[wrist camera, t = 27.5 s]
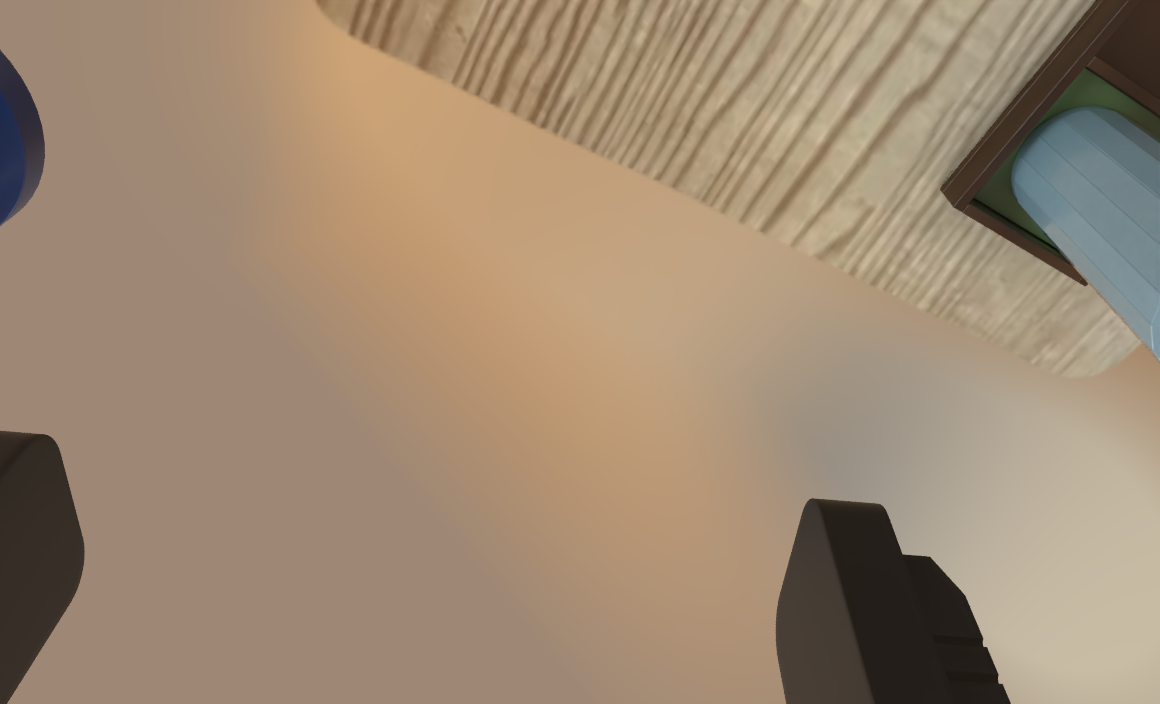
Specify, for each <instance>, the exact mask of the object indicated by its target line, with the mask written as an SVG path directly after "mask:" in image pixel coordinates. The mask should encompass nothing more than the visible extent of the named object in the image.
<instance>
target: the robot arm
mask: <svg viewBox="0 0 1160 704" xmlns="http://www.w3.org/2000/svg"><path fill="white" fill-rule="evenodd" d="M83 565H84V542H83V537H82V533H81V529H80V526H79V521H78V518H77V514H76V510H75V506H74V502H73V499H72V495H71V491H70V487H69V484H68V480H67V476H66V472H65V468H64V465H63V461H62V457H61V453H60V450H59V447H58V445H57V444H56V442H55V441H54V440H53V438H51V437H50V436H48V435H44V434H32V433H20V432H9V431H8V432H7V431H0V704H7V703H8V701H9V700H10V698H11V696H12V695H13V693H14V691H15V690H16V688H17V687H18V685H19V683H20V682H21V680H22V679H23V677H24V676H25V674H26V673H27V671H28V669H29V668H30V666H31V665H32V663H33V661H34V660H35V658H36V657H37V655H38V653H39V652H40V650H41V648H42V647H43V646H44V644H45V642H46V641H47V639H48V638H49V636H50V634H51V633H52V631H53V630H54V628H55V626H56V625H57V623H58V622H59V620H60V618H61V617H62V615H63V614H64V612H65V611H66V609H67V607H68V606H69V604H70V603H71V601H72V599H73V597H74V595H75V593H76V591H77V588H78V586H79V583H80V579H81V575H82V571H83ZM776 647H777V655H778V661H779V667H780V672H781V678H782V682H783V688H784V694H785V699H786V704H1011V703H1010V701H1009V698H1008V696H1007V694H1006V691H1005V689H1004V687H1003V684H999V683H998V673H997V670H996V668H995V665H994V663H993V661H992V658H991V656H990V653H989V651H988V649H987V647H983V637H982V635H981V632H980V630H979V627H978V625H977V623H976V620H975V618H974V616H973V613H972V611H971V608H970V606H969V604H968V601H967V599H966V596H965V595H964V594H963V593H962V591H961V590H960V589H959V588H958V587H957V586H956V585H955V584H954V583H953V582H952V581H951V579H950V578H949V577H948V576H947V575H946V574H945V573H944V572H943V571H942V570H941V568H940V567H939V566H938V565H937V564H936V563H935V562H934V561H933V560H932V559H931V557H926V556H915V555H914V556H913V555H902V552H901V549H900V546H899V544H898V541H897V538H896V535H895V533H894V530H893V527H892V524H891V522H890V519H889V516H888V514H887V512H886V510H885V508H884V507H883V506H882V505H880V504H875V503H862V502H850V501H838V500H825V499H813V498H812V499H810V500H809V501H808V502H807V503H806V505H805V507H804V510H803V513H802V516H801V520H800V524H799V527H798V530H797V534H796V538H795V541H794V545H793V549H792V552H791V556H790V560H789V563H788V567H787V571H786V574H785V578H784V581H783V585H782V589H781V592H780V596H779V601H778V607H777V617H776Z"/></svg>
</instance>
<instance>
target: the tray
mask: <svg viewBox="0 0 1160 704" xmlns="http://www.w3.org/2000/svg"><path fill="white" fill-rule="evenodd" d="M1083 106H1101V107H1106V108H1110V109H1113V110H1115V111H1117V112H1119V113H1121V114H1122V115H1124V116H1125V117H1127V118H1129V119H1131V120H1133V121H1134V122H1136V123H1137V124H1138V125H1140V126H1141V127H1143V128H1144V129H1145V130H1147V131H1148V132H1150V133H1151V134H1153V135H1154V136H1155V137H1157V138H1158V139H1160V0H1096V2H1095V3H1094V4H1093V5H1092V6H1091V8H1090V9H1089V10H1088V11H1087V13H1086V14H1085V15H1084V16H1083V17H1082V19H1081V20H1080V21H1079V22H1078V23H1077V25H1076V26H1075V27H1074V28H1073V29H1072V31H1071V32H1070V33H1069V34H1068V35H1067V37H1066V38H1065V39H1064V40H1063V41H1062V43H1061V44H1060V45H1059V46H1058V47H1057V49H1056V50H1055V51H1054V52H1053V54H1052V55H1051V56H1050V57H1049V58H1048V60H1047V61H1046V62H1045V63H1044V64H1043V66H1042V67H1041V68H1040V69H1039V70H1038V72H1037V73H1036V74H1035V75H1034V76H1033V78H1032V79H1031V80H1030V81H1029V82H1028V84H1027V85H1026V86H1025V87H1024V88H1023V90H1022V91H1021V92H1020V93H1019V95H1018V96H1017V97H1016V98H1015V99H1014V101H1013V102H1012V103H1011V104H1010V105H1009V107H1008V108H1007V109H1006V110H1005V111H1004V113H1003V114H1002V115H1001V116H1000V117H999V119H998V120H997V121H996V122H995V123H994V125H993V126H992V127H991V128H990V129H989V131H988V132H987V133H986V134H985V136H984V137H983V138H982V139H981V140H980V142H979V143H978V144H977V145H976V146H975V148H974V149H973V150H972V151H971V152H970V154H969V155H968V156H967V157H966V158H965V160H964V161H963V162H962V163H961V164H960V166H959V167H958V168H957V169H956V170H955V172H954V173H953V174H952V175H951V177H950V178H949V179H948V180H947V181H946V183H945V184H944V185H943V186H942V187H941V189H940V190H941V191H942V193H943V194H944V195H945V197H946V198H947V199H948V201H949V202H950V203H951V205H952V206H953V207H954V208H956V209H957V210H959V211H962V213H964V214H966V215H967V216H969V217H971V218H972V219H974V220H976V221H977V222H979V223H981V224H982V225H984V226H985V227H987V228H989V229H990V230H992V231H994V232H995V233H997V234H999V235H1000V236H1002V237H1004V238H1005V239H1007V240H1009V241H1010V242H1012V243H1014V244H1015V245H1017V246H1019V247H1020V248H1022V249H1024V250H1025V251H1027V252H1029V253H1030V254H1032V255H1034V256H1035V257H1037V258H1039V259H1040V260H1042V261H1044V262H1045V263H1047V264H1049V265H1050V266H1052V267H1054V268H1055V269H1057V270H1059V271H1060V272H1062V273H1064V274H1065V275H1067V276H1069V277H1070V278H1072V279H1074V280H1075V281H1077V282H1079V283H1080V284H1082V285H1084V286H1087V285H1088V283H1087V281H1086V280H1085V279H1084V278H1083V277H1082V276H1081V275H1080V274H1079V273H1078V271H1077V270H1076V269H1075V268H1074V267H1073V266H1072V265H1071V264H1070V263H1069V261H1068V260H1067V259H1066V258H1065V257H1064V256H1063V255H1062V254H1061V253H1060V251H1059V250H1058V249H1057V248H1056V247H1055V246H1054V245H1053V244H1052V243H1051V241H1050V240H1049V239H1048V238H1047V237H1046V236H1045V235H1044V234H1043V232H1042V231H1041V230H1040V229H1039V228H1038V227H1037V226H1036V225H1035V224H1034V222H1033V221H1032V220H1031V219H1030V218H1029V217H1028V215H1027V214H1026V213H1025V211H1024V210H1023V209H1022V208H1021V207H1020V206H1019V204H1018V203H1017V201H1016V199H1015V197H1014V194H1013V191H1012V186H1011V173H1012V167H1013V163H1014V160H1015V158H1016V155H1017V153H1018V151H1019V149H1020V147H1021V146H1022V144H1023V143H1024V141H1025V140H1026V139H1027V138H1028V136H1029V135H1030V134H1031V133H1032V132H1033V131H1034V130H1035V129H1036V128H1037V127H1039V126H1040V125H1041V124H1042V123H1044V122H1045V121H1046V120H1048V119H1050V118H1051V117H1053V116H1055V115H1057V114H1059V113H1061V112H1064V111H1066V110H1069V109H1073V108H1077V107H1083Z"/></svg>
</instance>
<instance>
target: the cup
mask: <svg viewBox="0 0 1160 704" xmlns="http://www.w3.org/2000/svg"><path fill="white" fill-rule="evenodd" d="M1011 186H1012V191H1013V194H1014V197H1015V199H1016V201H1017V203H1018V204H1019V206H1020V207H1021V208H1022V209H1023V210H1024V211H1025V213H1026V214H1027V215H1028V217H1029V218H1030V219H1031V220H1032V221H1033V222H1034V224H1035V225H1036V226H1037V227H1038V228H1039V229H1040V230H1041V231H1042V232H1043V234H1044V235H1045V236H1046V237H1047V238H1048V239H1049V240H1050V241H1051V243H1052V244H1053V245H1054V246H1055V247H1056V248H1057V249H1058V250H1059V251H1060V253H1061V254H1062V255H1063V256H1064V257H1065V258H1066V259H1067V260H1068V261H1069V263H1070V264H1071V265H1072V266H1073V267H1074V268H1075V269H1076V270H1077V271H1078V273H1079V274H1080V275H1081V276H1082V277H1083V278H1084V279H1085V280H1086V281H1087V283H1088V284H1089V285H1090V286H1091V287H1092V288H1093V289H1094V290H1095V291H1096V293H1097V294H1098V295H1099V296H1100V297H1101V298H1102V299H1103V300H1104V301H1105V303H1106V304H1107V305H1108V306H1109V307H1110V308H1111V309H1112V310H1113V312H1114V313H1115V314H1116V315H1117V316H1118V317H1119V318H1120V319H1121V320H1122V322H1123V323H1124V324H1125V325H1126V326H1127V327H1128V328H1129V329H1130V330H1131V332H1132V333H1133V334H1134V335H1135V336H1136V337H1137V338H1138V339H1139V340H1140V342H1141V343H1142V344H1143V345H1144V346H1145V347H1146V348H1147V349H1148V350H1149V352H1150V353H1151V354H1152V355H1153V356H1154V357H1155V358H1156V359H1157V360H1158V361H1159V363H1160V139H1158V138H1157V137H1155V136H1154V135H1153V134H1151V133H1150V132H1148V131H1147V130H1145V129H1144V128H1143V127H1141V126H1140V125H1138V124H1137V123H1136V122H1134V121H1133V120H1131V119H1129V118H1127V117H1125V116H1124V115H1122V114H1121V113H1119V112H1117V111H1115V110H1113V109H1110V108H1106V107H1101V106H1083V107H1077V108H1073V109H1069V110H1066V111H1064V112H1061V113H1059V114H1057V115H1055V116H1053V117H1051V118H1050V119H1048V120H1046V121H1045V122H1044V123H1042V124H1041V125H1040V126H1039V127H1037V128H1036V129H1035V130H1034V131H1033V132H1032V133H1031V134H1030V135H1029V136H1028V138H1027V139H1026V140H1025V141H1024V143H1023V144H1022V146H1021V147H1020V149H1019V151H1018V153H1017V155H1016V158H1015V160H1014V163H1013V167H1012V173H1011Z"/></svg>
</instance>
